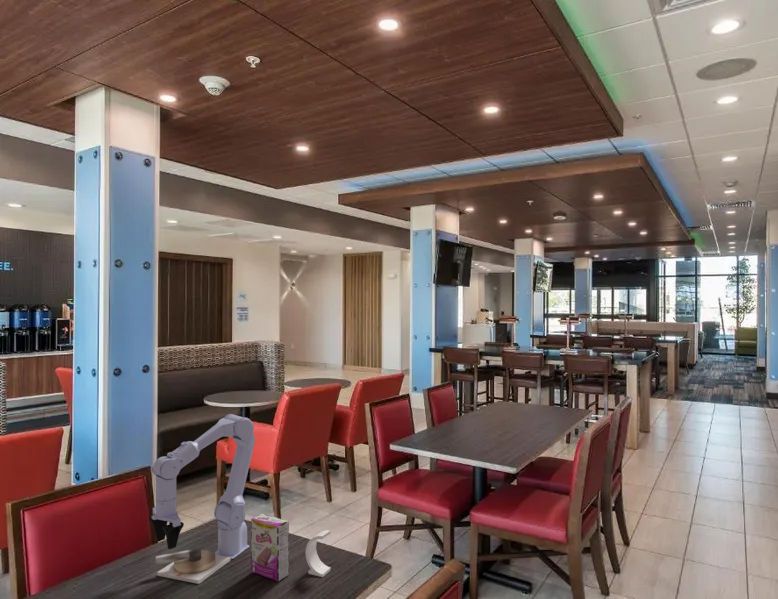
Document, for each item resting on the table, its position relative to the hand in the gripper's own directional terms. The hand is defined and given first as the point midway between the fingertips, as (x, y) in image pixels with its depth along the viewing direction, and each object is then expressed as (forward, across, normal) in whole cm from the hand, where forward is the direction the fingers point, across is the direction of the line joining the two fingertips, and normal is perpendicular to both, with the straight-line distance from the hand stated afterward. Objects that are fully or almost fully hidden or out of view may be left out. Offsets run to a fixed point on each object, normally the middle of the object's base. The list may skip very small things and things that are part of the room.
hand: (166, 544), depth 159 cm
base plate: (+10, +1, +8) cm, 13 cm away
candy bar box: (+10, +22, +22) cm, 32 cm away
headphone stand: (+10, +31, +32) cm, 46 cm away
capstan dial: (+8, 0, +6) cm, 10 cm away
